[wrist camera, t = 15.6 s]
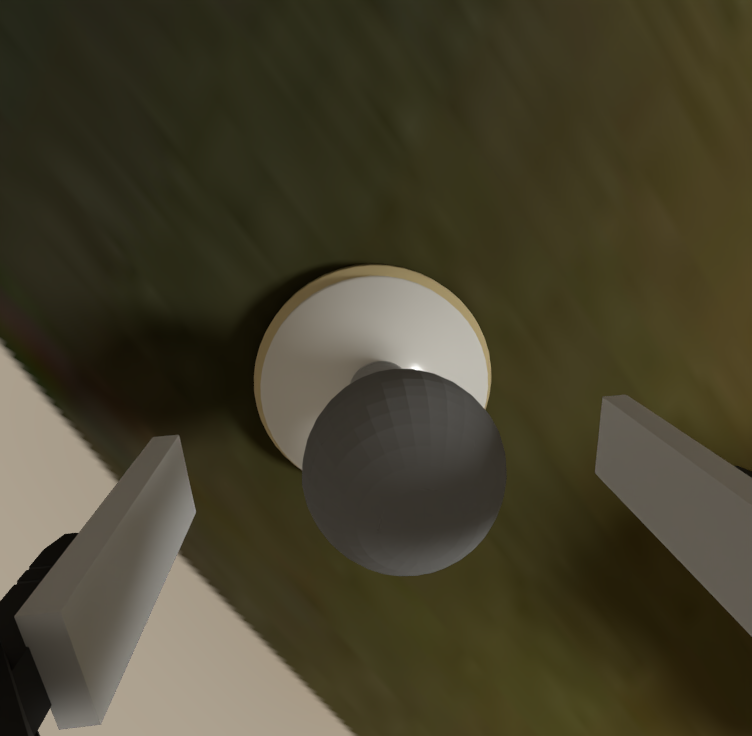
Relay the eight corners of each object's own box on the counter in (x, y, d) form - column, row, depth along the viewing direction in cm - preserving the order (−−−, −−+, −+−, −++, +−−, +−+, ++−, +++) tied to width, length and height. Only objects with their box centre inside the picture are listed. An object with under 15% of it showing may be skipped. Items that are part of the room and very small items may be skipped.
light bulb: (347, 467, 22) (364, 662, 13) (284, 356, 20) (249, 490, 11) (466, 412, 22) (572, 569, 12) (413, 293, 20) (493, 374, 10)
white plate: (262, 250, 21) (255, 254, 19) (504, 276, 22) (518, 282, 20) (253, 473, 24) (246, 493, 22) (464, 485, 25) (474, 504, 23)
